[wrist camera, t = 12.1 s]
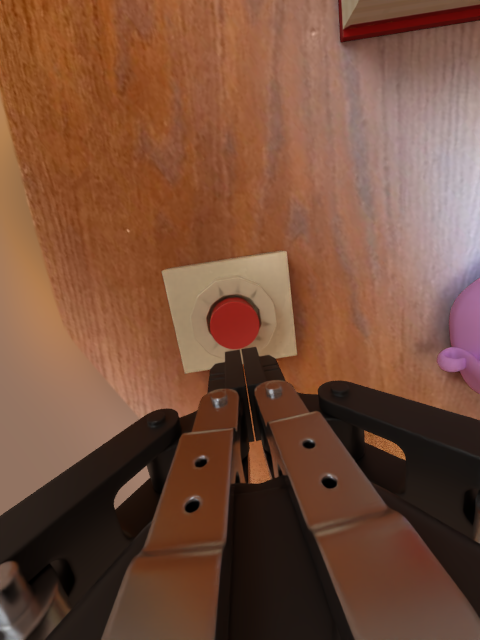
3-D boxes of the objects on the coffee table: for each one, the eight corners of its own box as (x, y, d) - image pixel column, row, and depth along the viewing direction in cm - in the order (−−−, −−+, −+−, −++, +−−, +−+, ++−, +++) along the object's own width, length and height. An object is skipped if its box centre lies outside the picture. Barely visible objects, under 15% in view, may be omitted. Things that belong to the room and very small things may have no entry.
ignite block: (187, 363, 26) (181, 383, 22) (166, 268, 23) (155, 273, 20) (291, 346, 26) (303, 363, 22) (281, 250, 24) (292, 251, 20)
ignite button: (215, 344, 22) (214, 353, 20) (206, 301, 21) (205, 306, 19) (259, 337, 22) (262, 345, 20) (253, 293, 21) (256, 297, 19)
